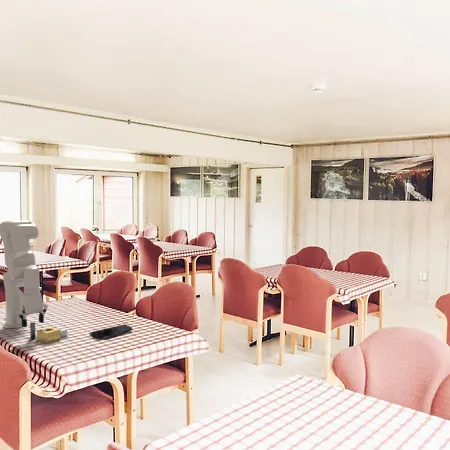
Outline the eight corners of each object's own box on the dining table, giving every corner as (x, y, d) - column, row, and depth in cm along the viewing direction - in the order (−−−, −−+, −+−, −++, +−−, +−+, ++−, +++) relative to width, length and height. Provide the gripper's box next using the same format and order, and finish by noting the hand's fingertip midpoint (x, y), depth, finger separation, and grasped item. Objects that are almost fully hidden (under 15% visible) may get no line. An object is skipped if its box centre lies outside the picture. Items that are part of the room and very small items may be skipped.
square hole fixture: (26, 340, 248) (25, 328, 248) (51, 333, 261) (50, 322, 260) (48, 347, 238) (47, 334, 238) (72, 339, 251) (72, 327, 250)
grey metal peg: (29, 338, 248) (29, 322, 247) (33, 337, 250) (33, 321, 249) (32, 339, 246) (31, 323, 246) (36, 337, 248) (36, 322, 248)
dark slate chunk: (136, 332, 266) (136, 324, 265) (102, 341, 249) (102, 332, 249) (119, 327, 276) (119, 319, 275) (85, 335, 259) (85, 327, 259)
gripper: (42, 288, 256) (43, 320, 256) (11, 293, 241) (13, 327, 242) (51, 289, 252) (52, 322, 252) (20, 294, 237) (22, 329, 238)
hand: (33, 324), depth 247 cm, fingers open, 9 cm apart
